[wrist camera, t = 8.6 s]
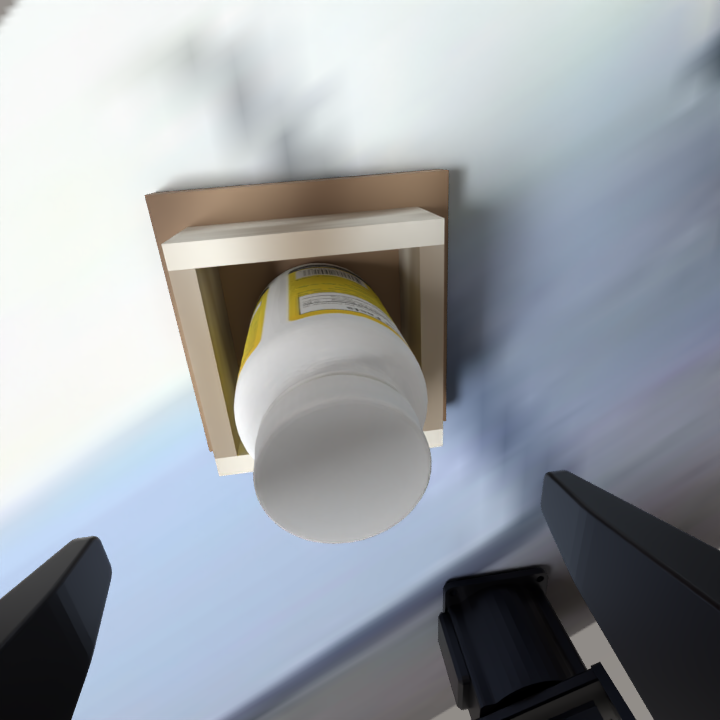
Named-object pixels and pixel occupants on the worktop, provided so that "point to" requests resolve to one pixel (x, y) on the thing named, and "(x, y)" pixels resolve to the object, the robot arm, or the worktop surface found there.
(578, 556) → the robot arm
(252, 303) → the socket board
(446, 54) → the worktop surface
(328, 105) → the worktop surface
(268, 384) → the supplement bottle
